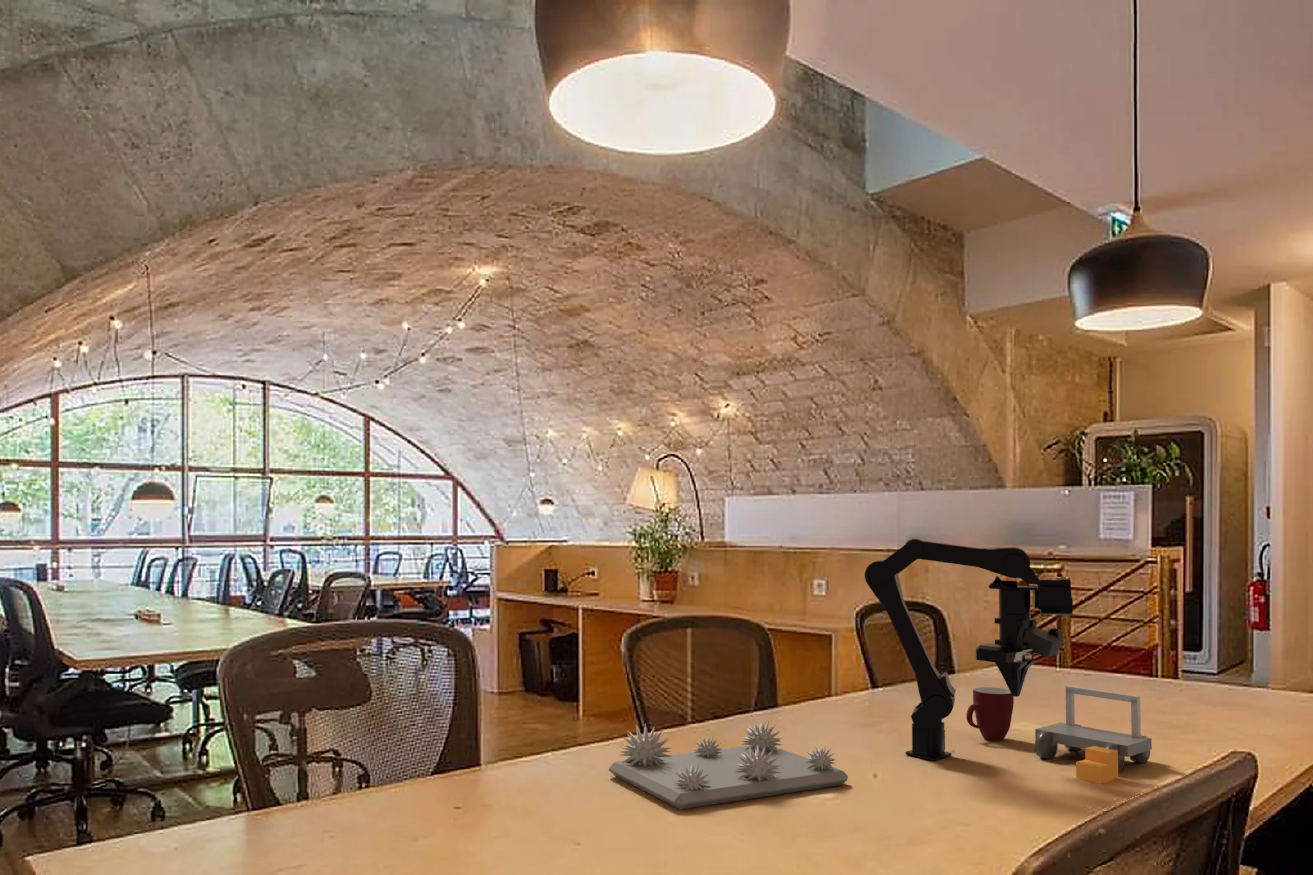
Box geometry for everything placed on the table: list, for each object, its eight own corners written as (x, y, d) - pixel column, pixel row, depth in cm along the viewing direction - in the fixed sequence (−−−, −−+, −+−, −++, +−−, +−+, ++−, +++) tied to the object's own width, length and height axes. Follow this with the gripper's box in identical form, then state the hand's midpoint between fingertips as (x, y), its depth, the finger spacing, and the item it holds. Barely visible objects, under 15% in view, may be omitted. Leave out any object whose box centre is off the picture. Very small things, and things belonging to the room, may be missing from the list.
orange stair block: (1099, 784, 180) (1099, 755, 180) (1076, 779, 183) (1075, 750, 184) (1118, 778, 184) (1117, 750, 184) (1094, 773, 187) (1094, 745, 188)
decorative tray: (677, 817, 159) (678, 751, 160) (603, 778, 182) (604, 720, 183) (852, 788, 177) (852, 730, 177) (765, 756, 199) (765, 704, 200)
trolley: (1120, 776, 185) (1119, 705, 186) (1027, 757, 198) (1026, 691, 199) (1158, 762, 195) (1157, 695, 196) (1068, 745, 209) (1067, 682, 210)
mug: (985, 746, 207) (985, 696, 208) (956, 738, 214) (956, 689, 215) (1022, 741, 212) (1022, 692, 213) (992, 733, 219) (992, 686, 220)
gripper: (1029, 620, 183) (1030, 708, 182) (1079, 613, 196) (1080, 696, 195) (973, 614, 192) (974, 699, 191) (1024, 609, 204) (1025, 688, 203)
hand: (1015, 696), depth 195 cm, fingers closed
